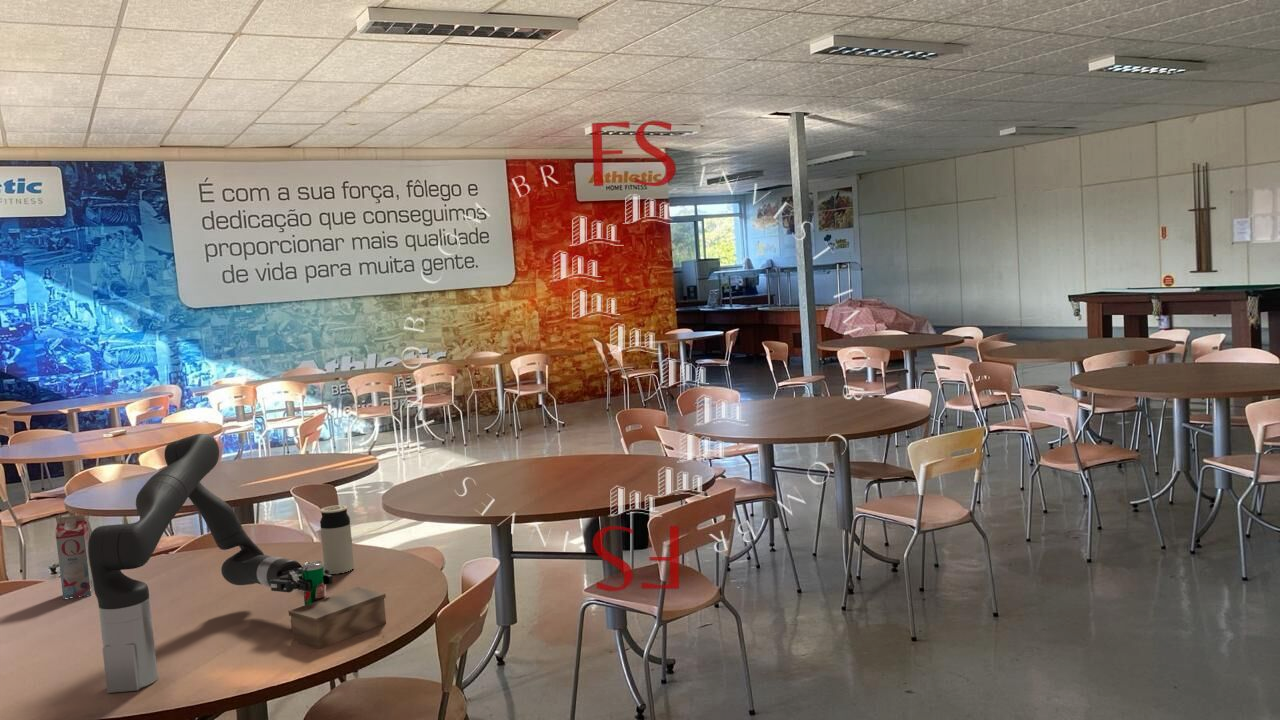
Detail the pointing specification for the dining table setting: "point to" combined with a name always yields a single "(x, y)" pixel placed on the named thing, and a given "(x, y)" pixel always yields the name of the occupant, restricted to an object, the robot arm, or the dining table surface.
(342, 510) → the travel mug
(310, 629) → the shoebox
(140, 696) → the dining table surface
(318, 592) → the soda can
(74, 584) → the juice carton
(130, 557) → the robot arm
